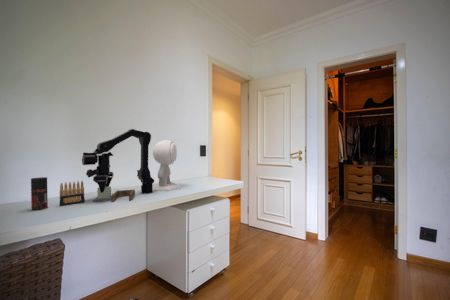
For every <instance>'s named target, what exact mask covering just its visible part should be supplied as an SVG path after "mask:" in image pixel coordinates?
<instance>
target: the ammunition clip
mask: <svg viewBox="0 0 450 300" xmlns="http://www.w3.org/2000/svg"><path fill="white" fill-rule="evenodd" d="M71 182H72V181H69V183H67V182H66V181H65V183H62V182H60V185H59V207H65V206H72V205H78V204H79V205H80V204H85V203H86V201H85V200H86V199H85V187H84V181H83V180H81V181H80V182H79V180H77V183H76V182H75V181H73V183H71ZM63 184H64V185H63Z"/></svg>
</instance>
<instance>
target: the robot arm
mask: <svg viewBox="0 0 450 300" xmlns="http://www.w3.org/2000/svg"><path fill="white" fill-rule="evenodd" d="M131 137H134V138H137V139H138V142H139V144H140V168H139V169H137V170H136V171H137V176H136V177H137V179H138V180H140V183H141V185H140V187H141V188H140V192H141V194H151V193H153V192H154V191H153V184H154V182H155V179H154V178H153V177H152V175H151V171H150V168H149V145H150V143H151V140H152V134H151V133H150V132H149V131H141V130H137V129H134V128H131V129H128V130H127V131H125V132H123V133H121V134H119V135H117V136H115V137H113V138H111V139H108V140H104V141H101V142H99V143H98V144H97V145H96V149H95V150H94V151H93V152H82V158H81V163H82V165H83V166H91V165H96V164H97V163H98V165H97V166H96V168H94V169H92V168H91V169H88V170H87V171H86V173H85V175H86V176H87V177H88V178H92V180H93V182H94V183H96V184H97V185H98V188H100V191H101V193H103V192H104V189H105V187H109V186H110V184H111V182H112V180H113V177H114V172H113V171H110V168H111V164H110V163H111V162H110V157H113V156H114V153H112V152H111V150H112V149H114V147H116V146H117V145H118V144H120V143H122V142H124V141H126V140H128V139H129V138H131Z"/></svg>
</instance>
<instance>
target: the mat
mask: <svg viewBox="0 0 450 300" xmlns="http://www.w3.org/2000/svg"><path fill="white" fill-rule="evenodd" d="M108 200H109V201H111V197H110V198H103V199H98V196H97V197H96V198H94V199H93V201H92V202H103V201H104V202H105V201H108ZM109 201H108V202H109Z"/></svg>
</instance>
